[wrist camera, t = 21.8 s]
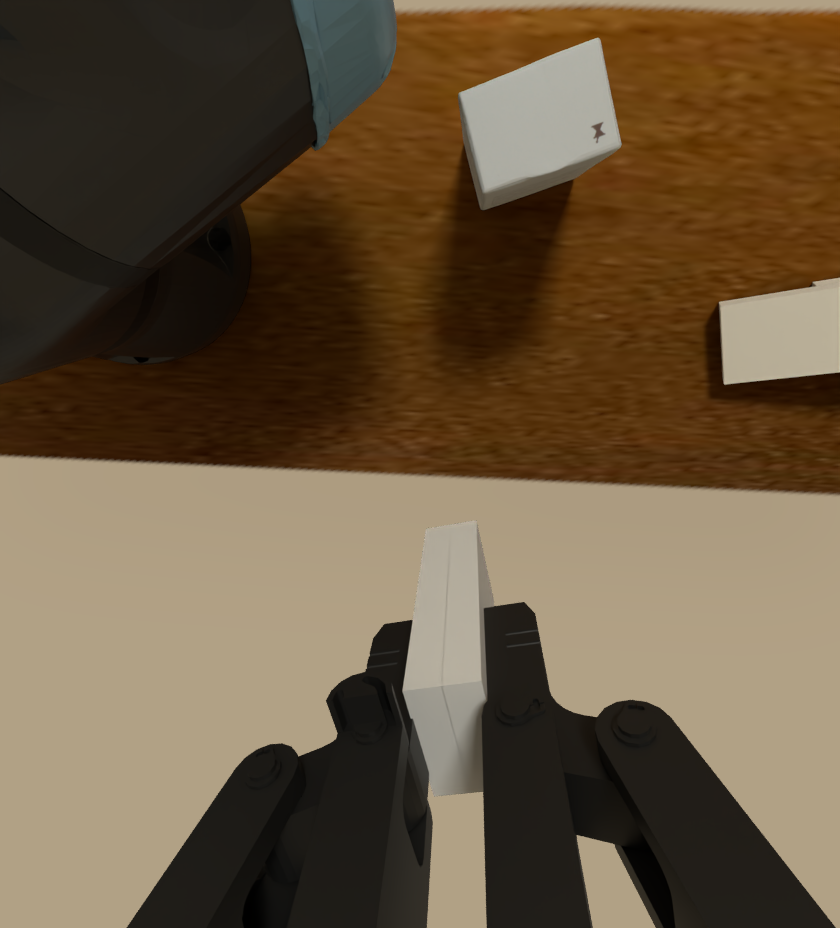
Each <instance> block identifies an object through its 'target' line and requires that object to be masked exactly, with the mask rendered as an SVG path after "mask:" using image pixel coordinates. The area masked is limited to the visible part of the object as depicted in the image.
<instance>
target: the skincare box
mask: <svg viewBox="0 0 840 928" xmlns="http://www.w3.org/2000/svg"><path fill="white" fill-rule="evenodd" d="M458 101H459V108H460V116H461V123H462V132H463V141H464V146H465V150H466V154H467V158H468V162H469V166H470V170H471V174H472V178H473V182H474V186H475V190H476V194H477V198H478V202H479V205H480V209H481V210H486V209H489V208H492V207H495V206H498V205H501V204H504V203H507V202H510V201H513V200H516V199H519V198H522V197H525V196H528V195H530V194H533V193H536V192H539V191H542V190H544V189H547V188H550V187H553V186H555V185H558V184H561V183H564V182H567V181H570V180H573V179H575V178H576V177H578V176H579V175H581V174H582V173H584V172H585V171H587V170H588V169H590V168H591V167H593V166H594V165H596V164H597V163H599V162H600V161H602V160H603V159H605V158H606V157H608V156H610V155H611V154H613V153H614V152H615V151H617V150H618V149H619V148H620V147H621V140H620V135H619V130H618V125H617V121H616V116H615V111H614V106H613V101H612V96H611V91H610V86H609V81H608V76H607V71H606V66H605V61H604V56H603V51H602V46H601V41H600V39H599V38H595V39H593V40H590V41H588V42H585V43H582V44H580V45H577V46H574V47H572V48H569V49H566V50H563V51H561V52H558V53H556V54H553V55H551V56H548V57H546V58H543V59H541V60H539V61H536V62H534V63H532V64H529V65H527V66H525V67H522V68H520V69H518V70H515V71H513V72H510V73H508V74H505V75H503V76H500V77H498V78H495V79H493V80H490V81H488V82H485V83H483V84H481V85H478V86H476V87H473V88H471V89H468V90H466V91H463V92H460V93H459V95H458Z"/></svg>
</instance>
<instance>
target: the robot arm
mask: <svg viewBox="0 0 840 928" xmlns="http://www.w3.org/2000/svg"><path fill="white" fill-rule="evenodd" d="M396 31H397V24H396V14H395V8H394V2H393V0H0V384H3V383H6V382H10V381H13V380H16V379H19V378H23V377H26V376H29V375H32V374H36V373H39V372H42V371H45V370H49V369H52V368H55V367H58V366H62V365H65V364H68V363H71V362H75V361H78V360H81V359H84V358H88V357H91V356H92V357H96V358H101V359H106V360H112V361H116V362H122V363H127V364H138V365H148V364H159V363H165V362H170V361H173V360H176V359H179V358H182V357H184V356H187V355H189V354H192V353H194V352H197V351H199V350H201V349H203V348H204V347H206V346H208V345H209V344H211V343H212V342H213V341H215V340H216V339H217V338H218V337H219V336H220V335H221V334H222V333H223V332H224V331H225V330H226V329H227V328H228V327H229V325H230V324H231V323H232V321H233V320H234V318H235V317H236V315H237V313H238V311H239V309H240V307H241V305H242V303H243V300H244V297H245V294H246V291H247V287H248V282H249V276H250V266H251V250H250V240H249V234H248V229H247V224H246V221H245V217H244V214H243V211H242V209H241V206H240V204H241V203H242V202H244V201H245V200H246V199H247V198H248V197H250V196H251V195H252V194H253V193H255V192H256V191H257V190H258V189H260V188H261V187H262V186H263V185H265V184H266V183H267V182H268V181H269V180H271V179H272V178H273V177H274V176H276V175H277V174H278V173H279V172H281V171H282V170H283V169H284V168H286V167H287V166H288V165H289V164H290V163H292V162H293V161H294V160H295V159H297V158H298V157H299V156H300V155H302V154H303V153H304V152H305V151H307V150H308V149H309V148H310V147H312V148H313V149H314V150H315V151H316V150H318V149H320V148H321V147H322V146H323V145H324V144H325V143H326V142H327V140H328V137H329V133H330V131H331V130H333V129H334V128H335V127H336V126H337V125H338V124H339V123H340V122H341V121H343V120H344V119H345V118H346V117H347V116H348V115H349V114H350V113H352V112H353V111H354V110H355V109H356V108H357V107H358V106H359V105H361V104H362V103H363V102H364V101H365V100H366V99H367V98H368V97H370V96H371V95H372V94H373V93H374V92H375V91H376V90H377V89H378V88H379V87H380V86H381V84H382V83H383V82H384V80H385V79H386V77H387V76H388V74H389V72H390V70H391V66H392V62H393V58H394V54H395V50H396ZM326 702H327V705H328V707H329V710H330V713H331V716H332V719H333V721H334V724H335V727H336V730H337V733H338V734H337V738H336V740H334V741H333V742H331V743H330V744H328V745H326V746H324V747H322V748H319V749H317V750H314V751H312V752H309V753H306V754H304V755H301V756H299V757H298V755H297V753H296V752H295V750H294V749H293V748H292V747H291V746H288V745H285V744H270V745H267V746H265V747H262V748H260V749H258V750H256V751H254V752H253V753H251V754H250V755H248V756H247V757H246V758H245V759H244V760H243V761H242V762H241V763H240V764H239V765H238V766H237V767H236V769H235V770H234V772H233V773H232V775H231V776H230V777H229V779H228V780H227V782H226V783H225V785H224V786H223V788H222V789H221V791H220V792H219V793H218V795H217V796H216V798H215V799H214V801H213V802H212V804H211V805H210V807H209V808H208V810H207V811H206V812H205V814H204V815H203V817H202V819H201V820H200V822H199V823H198V824H197V826H196V827H195V829H194V830H193V832H192V833H191V834H190V836H189V838H188V839H187V840H186V842H185V843H184V845H183V846H182V848H181V849H180V851H179V852H178V853H177V855H176V856H175V858H174V859H173V861H172V862H171V864H170V865H169V867H168V868H167V870H166V871H165V872H164V874H163V876H162V877H161V878H160V880H159V881H158V883H157V884H156V886H155V887H154V889H153V890H152V892H151V893H150V894H149V896H148V897H147V899H146V901H145V902H144V903H143V905H142V906H141V908H140V909H139V910H138V912H137V913H136V915H135V916H134V918H133V920H132V921H131V922H130V924H129V925H128V927H127V928H427V912H428V894H429V877H430V858H431V843H432V825H433V822H432V815H431V810H430V807H429V803H428V800H427V797H428V783H429V781H430V785H431V788H432V791H433V795H434V796H443V795H452V794H463V793H474V792H483V795H484V796H483V797H484V837H485V877H486V915H487V916H486V917H487V928H593V927H592V921H591V916H590V910H589V904H588V899H587V893H586V888H585V882H584V877H583V872H582V866H581V860H580V855H579V849H578V844H577V836H576V835H580V836H584V837H588V838H592V839H596V840H600V841H604V842H609V843H613V844H615V848H616V850H617V852H618V854H619V856H620V858H621V860H622V862H623V864H624V866H625V868H626V870H627V872H628V874H629V876H630V878H631V880H632V882H633V884H634V886H635V887H636V889H637V891H638V893H639V895H640V897H641V899H642V901H643V903H644V905H645V907H646V909H647V911H648V913H649V915H650V917H651V919H652V921H653V923H654V925H655V927H656V928H835V926H834V925H833V924H832V922H831V921H830V920H829V919H828V918H827V916H826V915H825V914H824V912H823V911H822V910H821V908H820V907H819V906H818V905H817V903H816V902H815V901H814V900H813V898H812V897H811V896H810V894H809V893H808V892H807V891H806V889H805V888H804V887H803V886H802V884H801V883H800V882H799V880H798V879H797V878H796V877H795V875H794V874H793V873H792V871H791V870H790V869H789V868H788V866H787V865H786V864H785V862H784V861H783V860H782V859H781V857H780V856H779V855H778V853H777V852H776V851H775V850H774V848H773V847H772V846H771V845H770V843H769V842H768V841H767V839H766V838H765V837H764V836H763V835H762V833H761V832H760V831H759V829H758V828H757V827H756V826H755V824H754V823H753V822H752V821H751V819H750V818H749V816H748V815H747V814H746V813H745V812H744V810H743V809H742V808H741V806H740V805H739V804H738V802H737V801H736V800H735V799H734V797H733V796H732V795H731V794H730V792H729V791H728V790H727V788H726V787H725V786H724V785H723V783H722V782H721V781H720V779H719V778H718V777H717V776H716V774H715V773H714V772H713V771H712V769H711V768H710V767H709V765H708V764H707V763H706V762H705V760H704V759H703V758H702V757H701V755H700V754H699V753H698V751H697V750H696V749H695V748H694V746H693V745H692V744H691V743H690V741H689V740H688V739H687V737H686V736H685V735H684V734H683V732H682V731H681V730H680V728H679V727H678V726H677V725H676V723H675V722H674V721H673V720H672V718H671V717H670V716H669V715H667V714H666V713H665V712H664V711H663V710H662V709H660V708H659V707H656V706H654V705H652V704H650V703H647V702H643V701H635V700H628V701H621V702H616V703H614V704H612V705H610V706H608V707H606V708H604V710H603V711H602V712H601V713H600V714H599V716H598V717H592V716H584V715H581V714H577V713H573V712H571V711H569V710H566V709H565V708H563V707H562V706H560V705H559V704H558V703H557V702H556V701H555V700H554V699H553V697H552V696H551V693H550V691H549V685H548V680H547V674H546V669H545V663H544V658H543V653H542V647H541V642H540V637H539V632H538V627H537V622H536V616H535V613H534V612H533V611H532V610H531V609H530V608H529V607H528V606H527V605H526V604H525V603H524V602H522V603H515V604H508V605H501V606H494V600H493V594H492V590H491V585H490V580H489V576H488V571H487V567H486V562H485V557H484V553H483V548H482V544H481V540H480V535H479V530H478V525H477V521H476V520H475V521H469V522H463V523H457V524H451V525H446V526H440V527H434V528H429V529H426V533H425V540H424V546H423V553H422V560H421V567H420V574H419V581H418V588H417V595H416V601H415V608H414V615H413V620H409V621H402V622H396V623H389V624H384V625H383V627H382V628H381V629H380V631H379V632H378V633H377V634H376V636H375V637H374V638H373V642H372V646H371V651H370V657H369V659H368V663H367V669H366V671H365V672H363V673H360V674H356V675H352V676H350V677H349V678H347V679H345V680H343V681H341V682H340V683H339V684H338V685H337V686H336V687H335V688H334V689H333V690H332V691H331V692H330V694H329V696H328V698H327V700H326Z"/></svg>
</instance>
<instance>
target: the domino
mask: <svg viewBox="0 0 840 928" xmlns="http://www.w3.org/2000/svg"><path fill="white" fill-rule="evenodd" d="M719 316H720V337H721V358H722V378H723V382H724V384H734V383H743V382H753V381H762V380H772V379H781V378H790V377H800V376H809V375H819V374H828V373H838V372H840V283H834V284H828V285H821V286H815V287H809V288H803V289H797V290H790V291H784V292H778V293H772V294H766V295H759V296H753V297H747V298H741V299H735V300H728V301H722V302H719Z"/></svg>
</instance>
